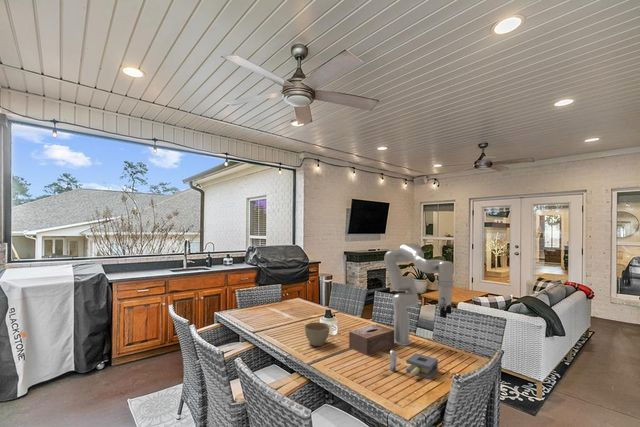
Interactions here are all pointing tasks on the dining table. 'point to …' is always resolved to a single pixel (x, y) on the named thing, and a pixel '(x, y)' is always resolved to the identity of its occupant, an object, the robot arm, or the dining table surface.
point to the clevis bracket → (422, 365)
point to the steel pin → (393, 360)
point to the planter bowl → (317, 333)
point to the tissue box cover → (371, 339)
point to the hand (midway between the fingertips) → (445, 315)
